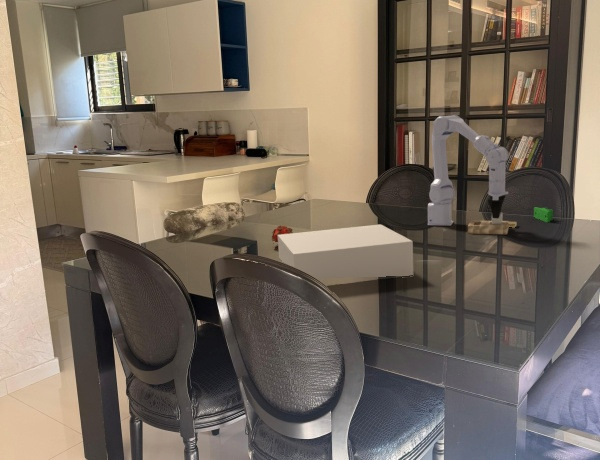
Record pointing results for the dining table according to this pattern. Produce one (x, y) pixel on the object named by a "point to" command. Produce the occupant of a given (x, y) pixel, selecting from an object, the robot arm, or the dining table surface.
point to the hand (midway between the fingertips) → (496, 216)
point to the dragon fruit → (280, 232)
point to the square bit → (497, 220)
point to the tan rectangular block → (512, 224)
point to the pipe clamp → (543, 214)
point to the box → (348, 252)
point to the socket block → (487, 227)
